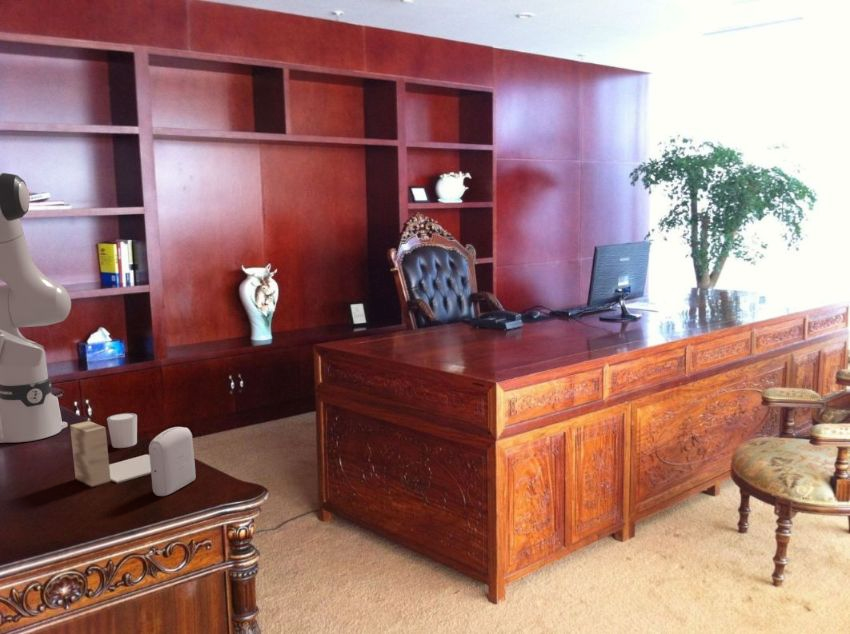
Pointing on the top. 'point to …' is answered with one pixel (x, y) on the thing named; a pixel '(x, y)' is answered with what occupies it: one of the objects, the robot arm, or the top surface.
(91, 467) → the oak block
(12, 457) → the top surface
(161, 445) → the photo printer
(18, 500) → the top surface
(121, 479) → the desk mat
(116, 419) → the white tapered cup
